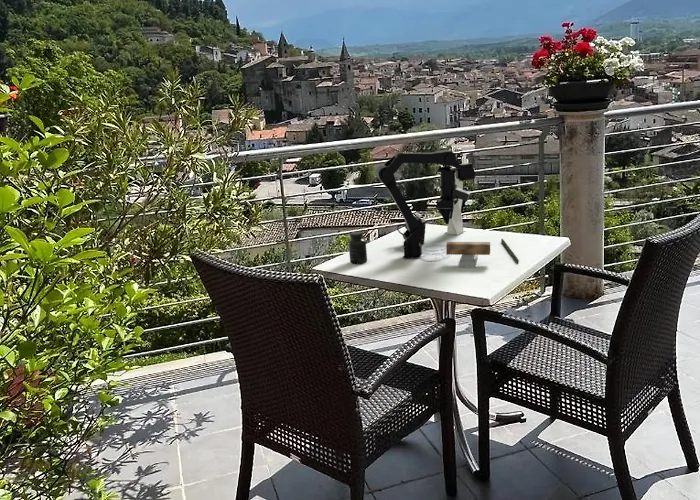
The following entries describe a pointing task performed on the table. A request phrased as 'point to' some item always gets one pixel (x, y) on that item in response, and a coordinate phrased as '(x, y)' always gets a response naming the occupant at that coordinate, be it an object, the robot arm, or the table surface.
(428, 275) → the table surface
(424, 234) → the coffee mug
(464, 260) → the ridge block
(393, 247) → the table surface
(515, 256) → the rod
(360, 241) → the supplement bottle
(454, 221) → the skyscraper
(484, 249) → the walnut rod
